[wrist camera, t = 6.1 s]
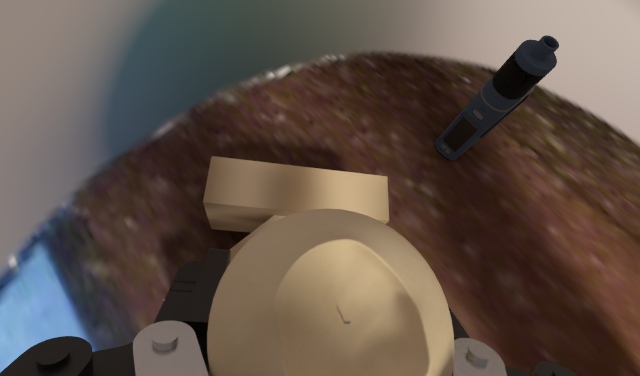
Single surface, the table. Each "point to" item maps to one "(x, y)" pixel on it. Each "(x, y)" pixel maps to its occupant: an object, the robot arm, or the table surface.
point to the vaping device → (499, 96)
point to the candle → (329, 303)
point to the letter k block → (284, 194)
